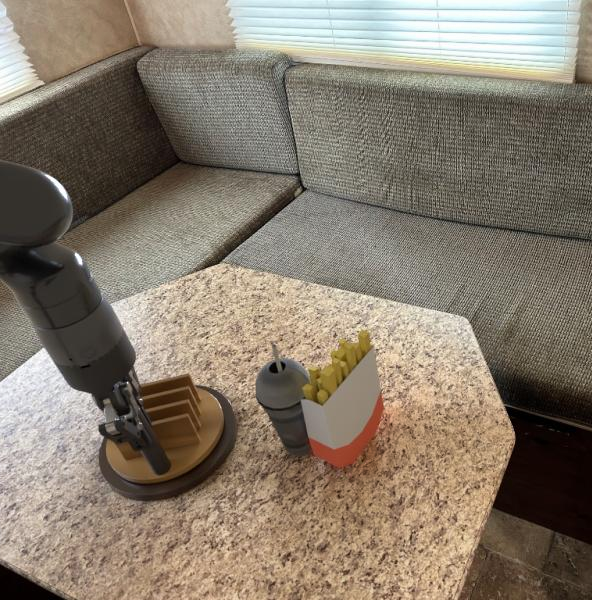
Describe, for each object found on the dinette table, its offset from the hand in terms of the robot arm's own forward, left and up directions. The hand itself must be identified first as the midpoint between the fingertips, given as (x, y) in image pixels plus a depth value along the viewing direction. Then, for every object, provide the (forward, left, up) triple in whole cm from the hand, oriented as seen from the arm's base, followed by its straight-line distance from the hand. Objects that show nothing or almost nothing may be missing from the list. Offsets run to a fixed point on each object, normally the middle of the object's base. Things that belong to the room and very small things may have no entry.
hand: (143, 437), depth 76 cm
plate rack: (+3, +6, -8) cm, 10 cm away
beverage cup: (+16, -8, -10) cm, 21 cm away
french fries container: (+21, -13, -10) cm, 27 cm away
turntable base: (+3, +6, -9) cm, 11 cm away
